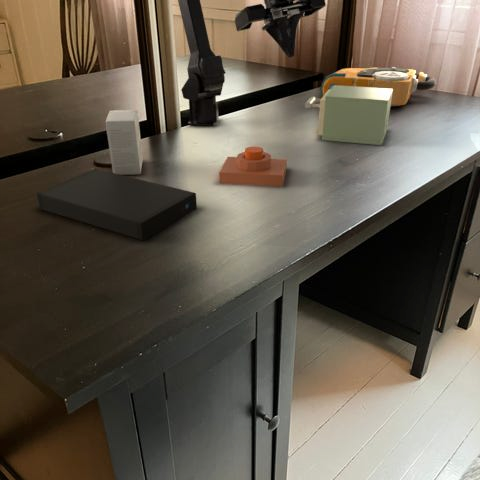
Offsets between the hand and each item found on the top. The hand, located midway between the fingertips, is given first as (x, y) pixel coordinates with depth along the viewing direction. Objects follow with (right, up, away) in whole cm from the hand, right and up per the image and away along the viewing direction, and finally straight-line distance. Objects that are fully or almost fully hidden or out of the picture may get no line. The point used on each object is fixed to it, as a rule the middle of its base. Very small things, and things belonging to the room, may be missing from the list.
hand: (291, 57), depth 109 cm
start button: (-8, -23, -6) cm, 25 cm away
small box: (-33, -23, 0) cm, 40 cm away
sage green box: (+17, -10, +17) cm, 26 cm away
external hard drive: (-31, -35, -16) cm, 50 cm away
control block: (-8, -25, -4) cm, 27 cm away
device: (+29, +10, +45) cm, 55 cm away
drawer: (+13, -9, +18) cm, 24 cm away
